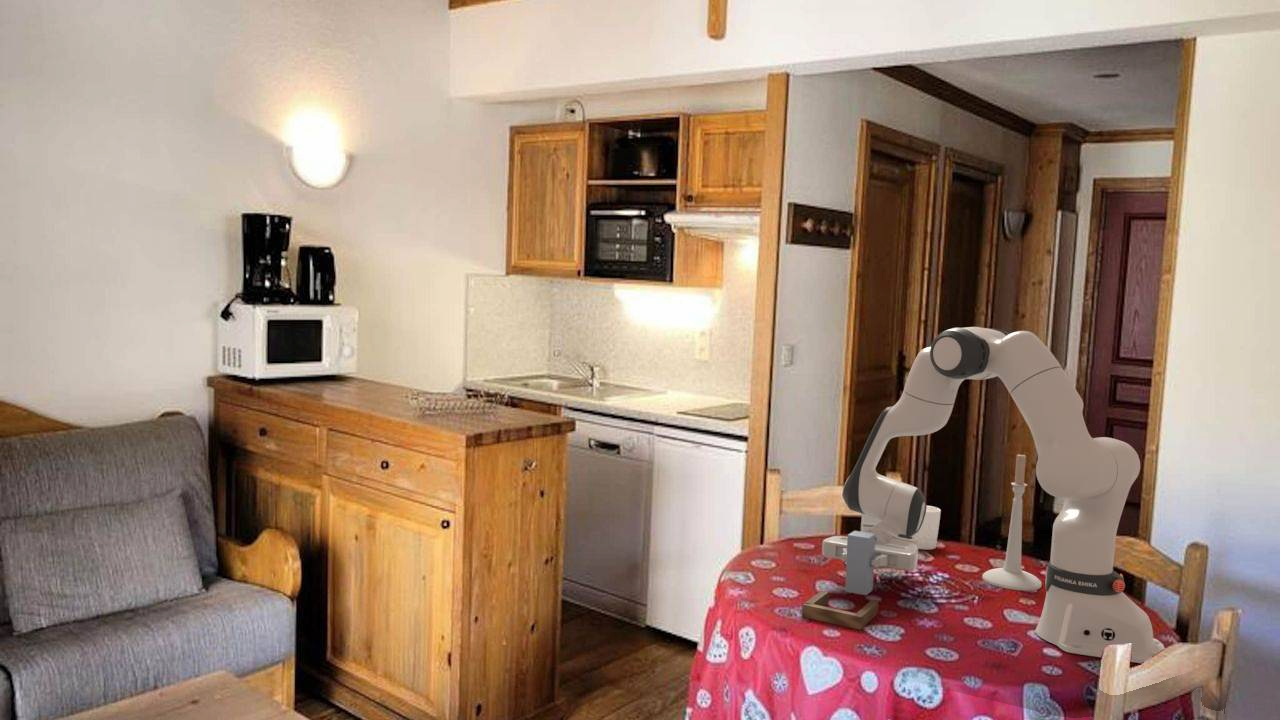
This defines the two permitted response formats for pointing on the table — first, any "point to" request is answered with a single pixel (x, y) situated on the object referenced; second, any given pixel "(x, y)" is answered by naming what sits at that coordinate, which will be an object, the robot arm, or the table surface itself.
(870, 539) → the grey block
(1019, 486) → the candlestick
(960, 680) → the table surface
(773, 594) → the table surface
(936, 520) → the white cup
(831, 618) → the wooden u-shaped frame
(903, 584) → the table surface
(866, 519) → the syrup box
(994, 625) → the table surface
